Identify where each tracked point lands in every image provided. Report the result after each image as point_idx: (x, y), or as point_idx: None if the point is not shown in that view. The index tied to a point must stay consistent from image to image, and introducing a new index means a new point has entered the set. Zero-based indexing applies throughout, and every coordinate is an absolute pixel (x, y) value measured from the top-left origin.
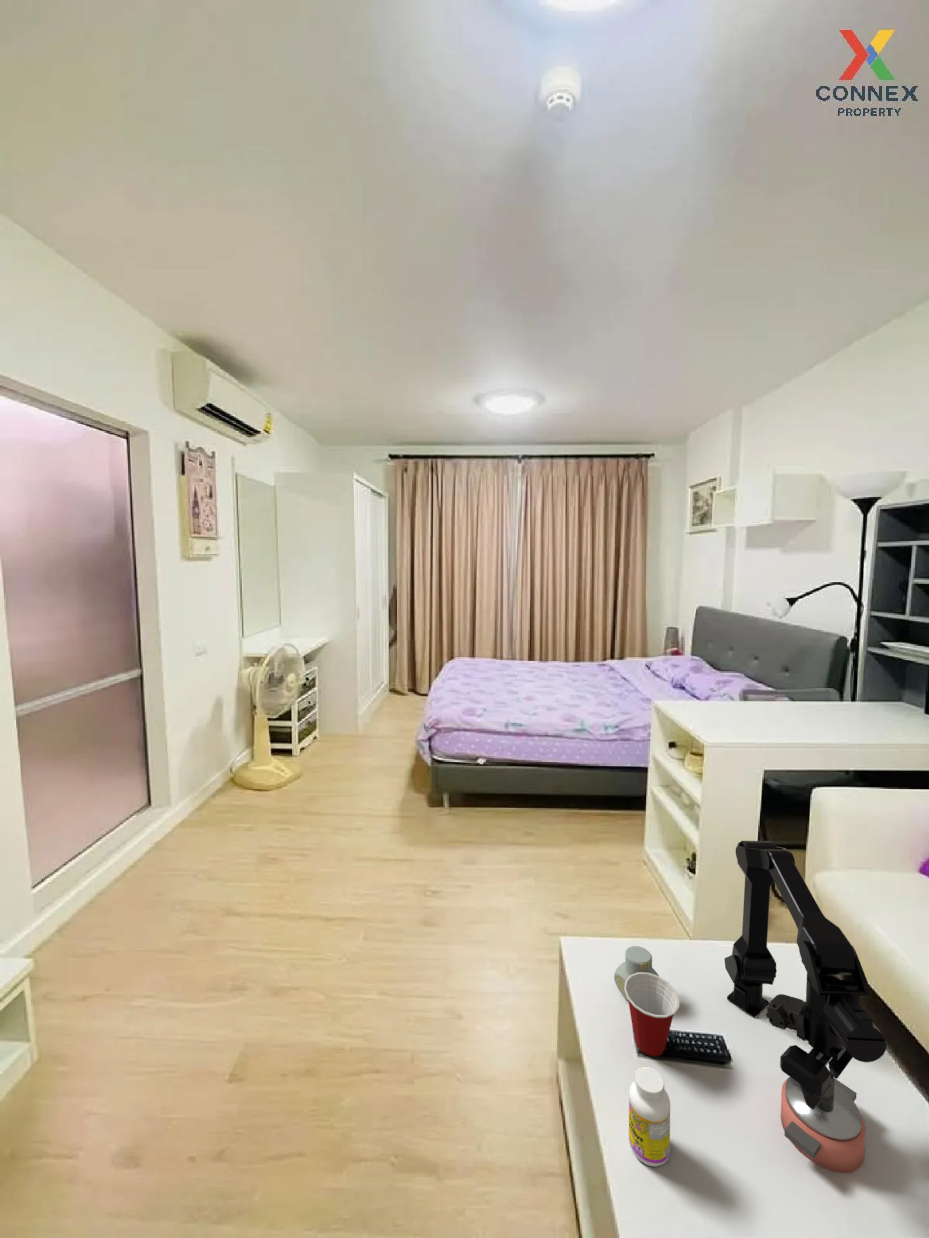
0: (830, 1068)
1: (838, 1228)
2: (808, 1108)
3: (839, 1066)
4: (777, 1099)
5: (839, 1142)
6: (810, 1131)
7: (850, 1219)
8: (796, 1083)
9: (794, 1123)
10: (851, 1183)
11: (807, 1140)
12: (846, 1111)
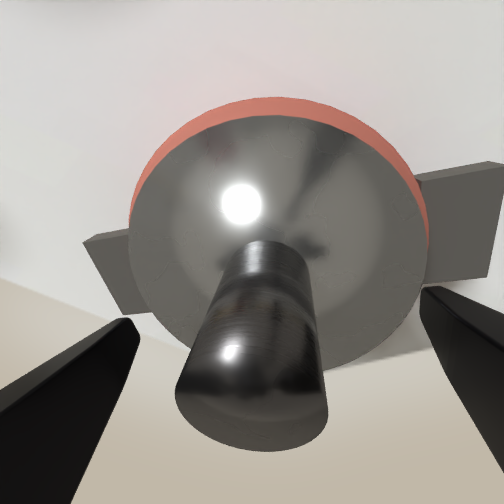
0: (445, 317)
1: (138, 331)
2: (188, 266)
3: (485, 416)
4: (250, 76)
5: None
6: None
7: (170, 334)
8: (244, 165)
9: None
10: None
11: (133, 289)
12: (318, 334)
